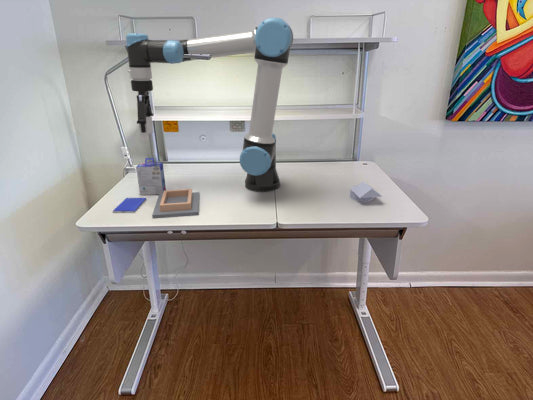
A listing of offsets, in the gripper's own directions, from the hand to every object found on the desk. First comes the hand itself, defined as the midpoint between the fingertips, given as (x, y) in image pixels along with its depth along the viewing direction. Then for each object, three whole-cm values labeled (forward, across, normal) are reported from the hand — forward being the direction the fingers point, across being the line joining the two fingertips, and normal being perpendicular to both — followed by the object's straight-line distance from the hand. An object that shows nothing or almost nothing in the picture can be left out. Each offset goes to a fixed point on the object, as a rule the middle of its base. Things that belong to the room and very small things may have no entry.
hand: (147, 136), depth 142 cm
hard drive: (+25, +12, -7) cm, 28 cm away
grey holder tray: (+23, +15, +11) cm, 30 cm away
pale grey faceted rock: (+21, +22, +83) cm, 88 cm away
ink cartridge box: (+24, -1, 0) cm, 24 cm away
